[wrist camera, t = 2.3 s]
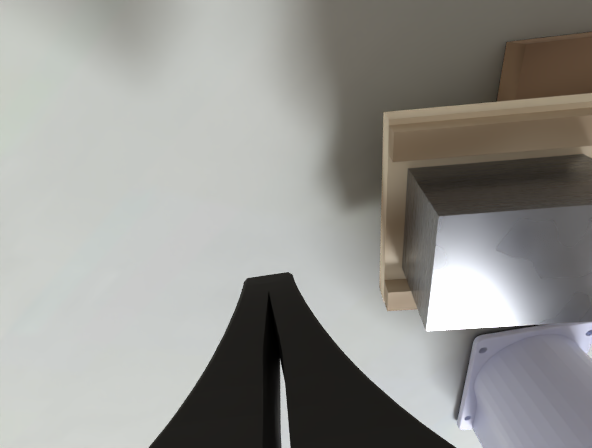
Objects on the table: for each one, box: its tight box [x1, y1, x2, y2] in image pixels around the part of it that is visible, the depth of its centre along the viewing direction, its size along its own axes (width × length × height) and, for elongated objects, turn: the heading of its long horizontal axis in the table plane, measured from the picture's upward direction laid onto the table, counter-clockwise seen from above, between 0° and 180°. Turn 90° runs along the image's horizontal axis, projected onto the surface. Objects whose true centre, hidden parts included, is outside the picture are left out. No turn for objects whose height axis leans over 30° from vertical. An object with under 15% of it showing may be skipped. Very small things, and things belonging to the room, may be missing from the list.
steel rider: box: [402, 154, 592, 331], centre depth 13 cm, size 4×6×4 cm
